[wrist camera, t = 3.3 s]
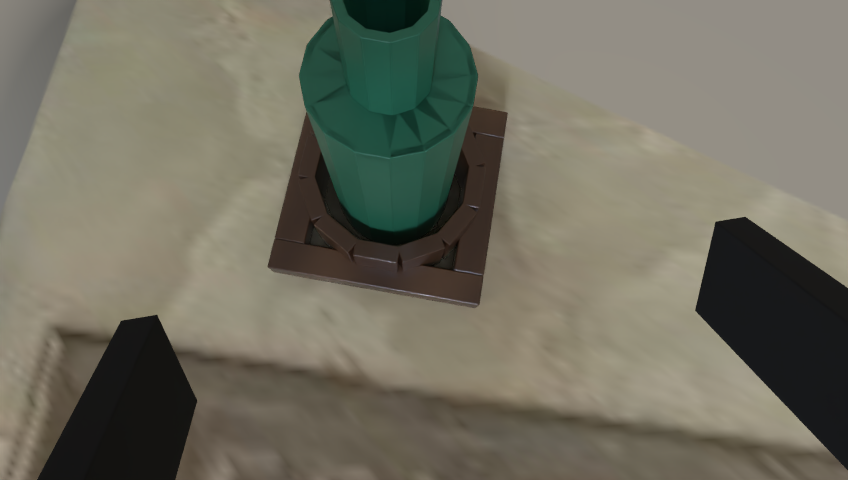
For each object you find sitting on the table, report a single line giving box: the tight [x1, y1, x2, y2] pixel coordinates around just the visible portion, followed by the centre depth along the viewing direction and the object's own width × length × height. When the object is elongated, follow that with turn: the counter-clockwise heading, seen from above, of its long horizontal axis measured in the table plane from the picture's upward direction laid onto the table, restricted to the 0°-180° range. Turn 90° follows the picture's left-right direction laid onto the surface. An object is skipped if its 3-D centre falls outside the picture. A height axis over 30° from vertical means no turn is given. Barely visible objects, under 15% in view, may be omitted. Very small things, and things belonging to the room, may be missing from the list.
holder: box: [268, 107, 508, 308], centre depth 32 cm, size 13×13×4 cm
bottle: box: [299, 0, 478, 245], centre depth 25 cm, size 7×7×18 cm
